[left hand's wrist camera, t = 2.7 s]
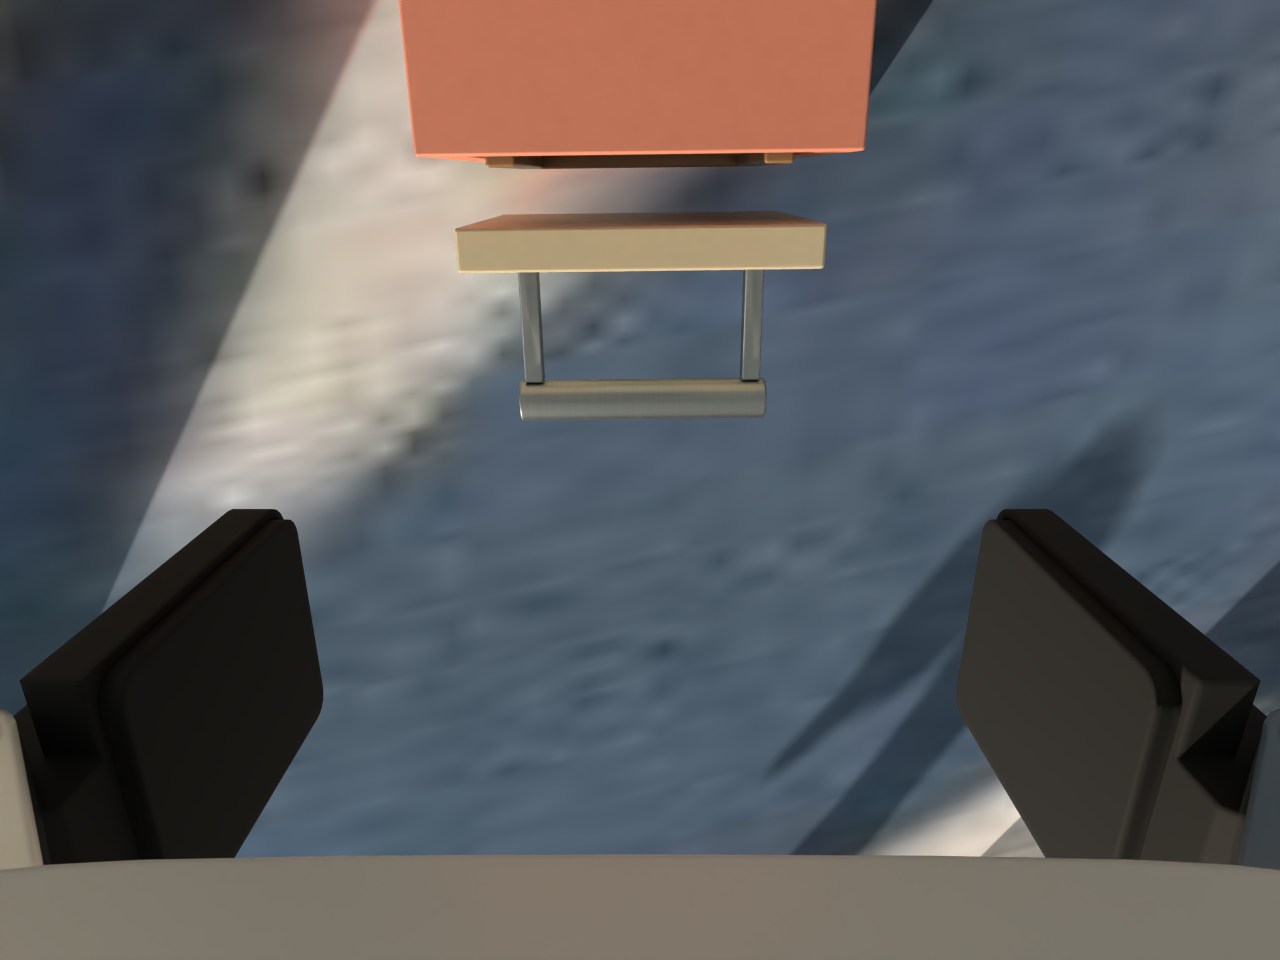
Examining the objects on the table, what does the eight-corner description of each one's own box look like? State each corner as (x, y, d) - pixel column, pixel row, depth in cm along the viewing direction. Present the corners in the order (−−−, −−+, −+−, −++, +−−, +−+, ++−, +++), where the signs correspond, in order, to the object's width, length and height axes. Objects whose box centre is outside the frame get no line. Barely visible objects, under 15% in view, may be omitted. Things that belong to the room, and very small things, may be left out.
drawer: (771, 383, 32) (812, 449, 24) (513, 386, 32) (473, 453, 24) (809, -424, 23) (890, -715, 16) (457, -419, 23) (369, -705, 16)
